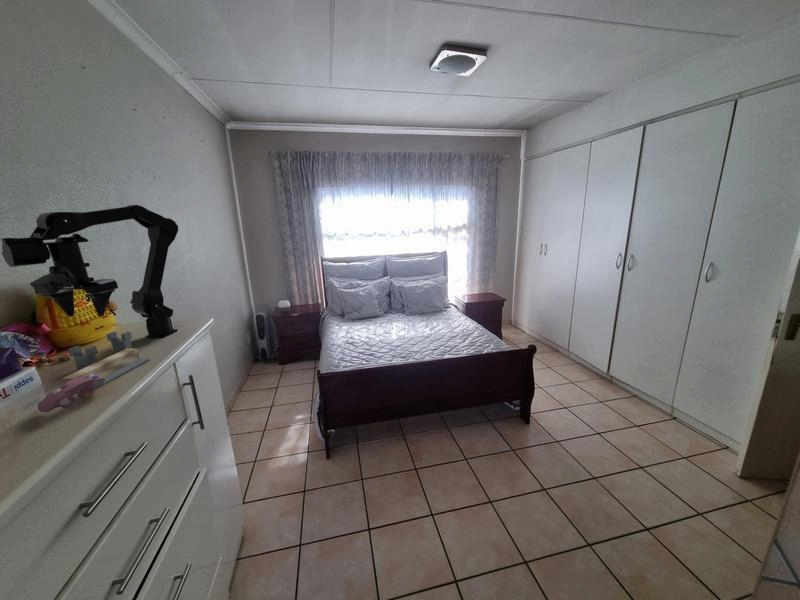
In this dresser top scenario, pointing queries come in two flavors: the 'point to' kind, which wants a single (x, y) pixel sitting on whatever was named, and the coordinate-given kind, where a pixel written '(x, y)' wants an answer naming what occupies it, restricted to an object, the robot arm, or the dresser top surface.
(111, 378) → the slate mat
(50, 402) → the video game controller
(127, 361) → the birch rail
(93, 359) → the metal standards
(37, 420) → the dresser top surface
